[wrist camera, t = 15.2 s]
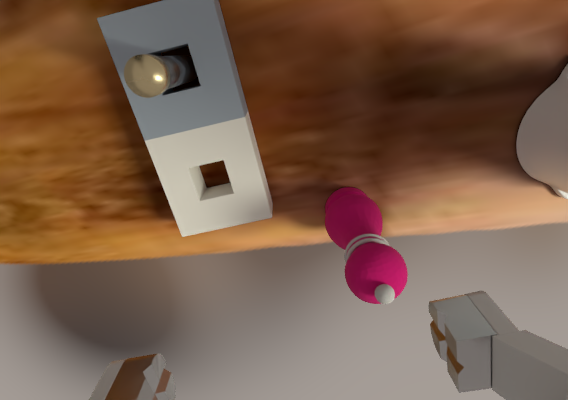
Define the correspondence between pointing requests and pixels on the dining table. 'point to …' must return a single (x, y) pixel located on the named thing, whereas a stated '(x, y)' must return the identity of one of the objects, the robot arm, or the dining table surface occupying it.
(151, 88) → the lock pin
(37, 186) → the dining table surface
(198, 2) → the pin board
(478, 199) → the dining table surface
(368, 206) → the pepper mill
